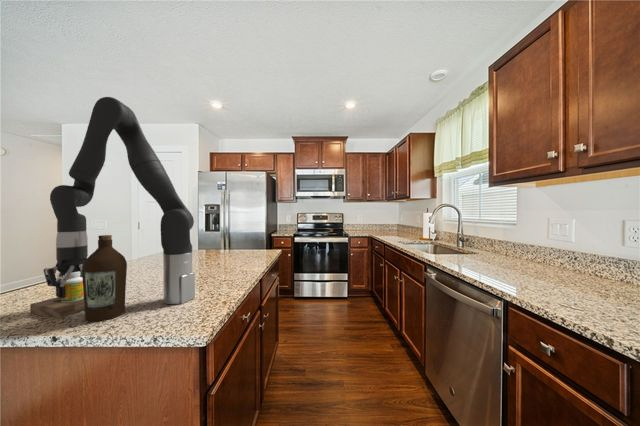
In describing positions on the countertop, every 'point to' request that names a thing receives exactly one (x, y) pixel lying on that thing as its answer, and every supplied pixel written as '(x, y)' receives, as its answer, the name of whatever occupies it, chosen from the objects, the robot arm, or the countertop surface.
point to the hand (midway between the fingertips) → (72, 294)
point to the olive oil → (104, 282)
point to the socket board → (57, 308)
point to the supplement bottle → (73, 288)
